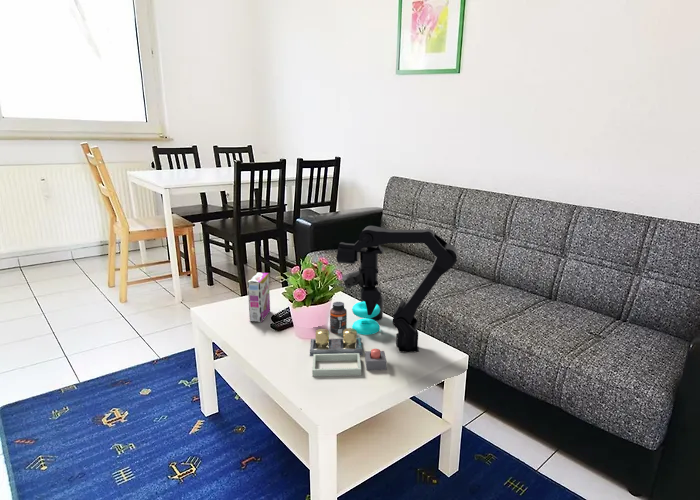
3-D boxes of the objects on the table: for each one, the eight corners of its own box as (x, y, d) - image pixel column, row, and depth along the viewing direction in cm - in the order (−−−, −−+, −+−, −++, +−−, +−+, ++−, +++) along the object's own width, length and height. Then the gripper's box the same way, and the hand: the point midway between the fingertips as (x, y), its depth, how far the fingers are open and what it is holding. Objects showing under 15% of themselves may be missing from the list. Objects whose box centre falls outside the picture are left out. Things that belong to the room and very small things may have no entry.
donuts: (383, 302, 162) (375, 313, 153) (383, 327, 165) (374, 339, 156) (357, 298, 166) (348, 308, 157) (357, 323, 168) (348, 334, 160)
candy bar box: (262, 323, 168) (259, 282, 164) (249, 322, 169) (246, 281, 164) (271, 311, 179) (269, 272, 174) (259, 310, 180) (256, 271, 175)
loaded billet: (329, 344, 150) (328, 328, 148) (329, 351, 146) (328, 334, 144) (316, 345, 150) (315, 328, 148) (315, 351, 146) (315, 335, 144)
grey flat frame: (360, 342, 154) (360, 336, 153) (362, 357, 144) (362, 350, 143) (311, 343, 153) (310, 337, 152) (309, 358, 143) (309, 351, 143)
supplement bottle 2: (377, 323, 168) (378, 293, 165) (361, 319, 172) (362, 289, 169) (386, 316, 174) (386, 287, 171) (370, 312, 178) (371, 284, 174)
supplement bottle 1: (344, 337, 158) (344, 307, 154) (328, 335, 159) (327, 306, 156) (348, 329, 163) (348, 301, 160) (332, 328, 164) (332, 299, 161)
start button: (379, 357, 139) (379, 348, 138) (380, 361, 136) (380, 353, 135) (370, 357, 139) (370, 348, 138) (371, 362, 136) (371, 353, 135)
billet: (342, 344, 150) (342, 328, 149) (355, 344, 151) (356, 328, 149) (343, 351, 146) (343, 334, 144) (356, 350, 146) (357, 334, 145)
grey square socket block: (383, 362, 141) (384, 350, 140) (386, 372, 136) (386, 360, 134) (365, 362, 141) (365, 351, 140) (366, 373, 135) (366, 361, 134)
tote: (359, 361, 142) (359, 353, 141) (361, 378, 133) (361, 369, 132) (313, 362, 141) (313, 354, 140) (312, 379, 132) (312, 370, 131)
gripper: (343, 256, 154) (343, 298, 159) (345, 274, 136) (345, 321, 141) (375, 256, 155) (374, 298, 159) (381, 274, 137) (380, 321, 141)
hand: (368, 309), depth 150 cm, fingers open, 9 cm apart
